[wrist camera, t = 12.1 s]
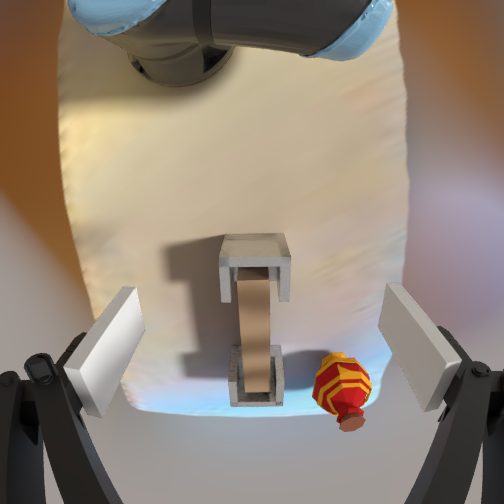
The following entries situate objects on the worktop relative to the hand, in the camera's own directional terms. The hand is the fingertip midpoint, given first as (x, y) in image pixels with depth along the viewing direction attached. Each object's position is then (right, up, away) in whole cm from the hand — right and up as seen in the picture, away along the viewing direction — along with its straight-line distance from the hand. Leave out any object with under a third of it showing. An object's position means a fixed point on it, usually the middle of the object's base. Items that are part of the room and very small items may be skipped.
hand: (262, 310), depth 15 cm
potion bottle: (+15, -18, +38) cm, 44 cm away
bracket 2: (0, -16, +37) cm, 40 cm away
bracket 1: (0, +3, +30) cm, 30 cm away
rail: (0, -8, +31) cm, 32 cm away
